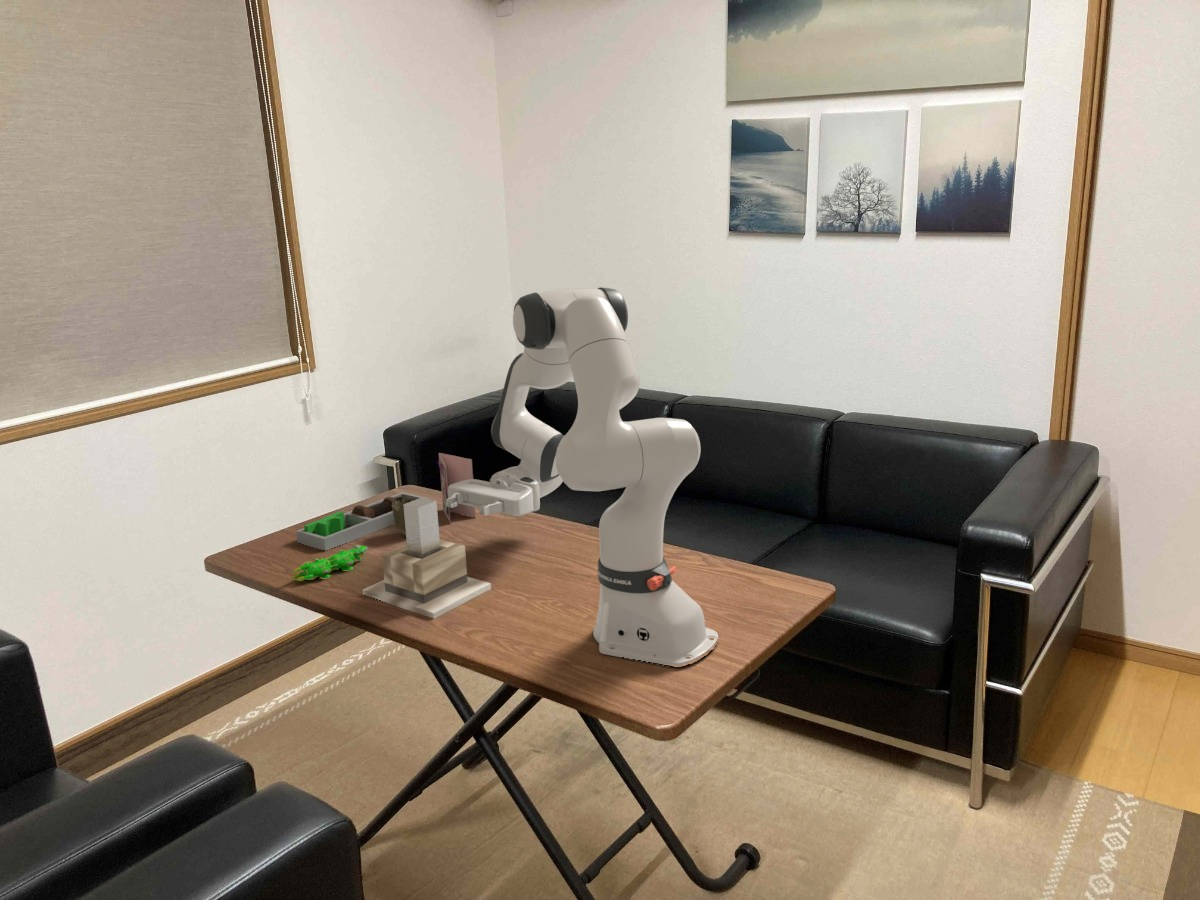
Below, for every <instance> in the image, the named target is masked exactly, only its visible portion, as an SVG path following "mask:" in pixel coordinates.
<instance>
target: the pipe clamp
mask: <svg viewBox="0 0 1200 900" xmlns="http://www.w3.org/2000/svg"><path fill="white" fill-rule="evenodd" d="M344 513H345V512H344V511H337V512H335V513H332V514H330V515H327V516H324V517H322V518H321V519H318V520H315V521H312V522H310V523H308V524H306V525H305V524H304V525H303V528H304V529H305V531H306V532H310V533H313V534H317V535H320V536H324V537H326V536H328V535H331V534H334V533H336V532H339V531H341V530H344V529H346V527H345V521H344Z"/></svg>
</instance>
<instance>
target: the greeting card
mask: <svg viewBox="0 0 1200 900" xmlns="http://www.w3.org/2000/svg"><path fill="white" fill-rule="evenodd" d="M436 462H437V464H438V467H439V473H440V486H441V499H442V500H441V501H442V509H443V513H444V514H445V516H446V519H447V518H448V519H447V520H449V521H448V523H449V522H450V523H451V513H454V512H456V513H455V514H458V513H459V514H458V515H462V514H464V515H463V516H465V515H469V516H473V517H476V507H472V506H467V505H463V504H459V503H457V506H456V507H453V508H451V507H447V506H446V499H448V498H449V497H448V487H449V485H451V484H454V483H457V482H461V481H464V480H469V479H474V474H473V459H471V458H465V457H461V456H456V455H452V454H448V453H447V454H446V453H442V452H438V460H436ZM450 511H452V512H450ZM469 516H468V517H469ZM473 517H472V518H473Z"/></svg>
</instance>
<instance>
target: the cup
mask: <svg viewBox="0 0 1200 900" xmlns="http://www.w3.org/2000/svg"><path fill="white" fill-rule="evenodd" d="M414 500H415V499H413V500H412V499H411V498H408V499H407V500H406V502H405V500H404V499H403V500H402V503H401V502H400V501H399V500H398V501H397V502H396V501H395V502H394V504H393V503H392V505H391V506H392V510H393V515H394V519H395V523H396V524H395V525H396V527H397V528H398V529H399V530H400V531H401V534H402V535H403V536H404V537H406V528H405V517H404V506H403V504H406V503H409V502H411V501H414Z"/></svg>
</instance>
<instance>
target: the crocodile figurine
mask: <svg viewBox="0 0 1200 900" xmlns="http://www.w3.org/2000/svg"><path fill="white" fill-rule="evenodd" d="M366 551H368V546H365V545H359V544H356V545H354V547H352V548H351V549H349V550H345V549H344V550H343V549H339V552H338V553H335V554H333V555H331V554H329V557H326V558H322V557H321V558H320V559H318V558H313V560H314V561H305V562H303V564H301V565H300V566H298V567H297V568H295V569H294V570H293V571H292V573H293V574H294V573H296V574H294V575H293V576H292V577H291V579H294V580H295V581H299V582H304V581H305V580H306V581H307V580H308V581H310V580H314V579H316V578H319V577H322V578H327V577H330V576H331V574H330V573H331V572H332V571H334V570H337V571H339V569H341V570H342V571H343V570H350V569H353V568H354V567H353V566H352V565H354V564H355V560H358V561H361V562H362V561H363V560H364V559H362V558H363V556H364V555H365V553H366ZM348 565H351V566H348ZM353 570H354V569H353Z"/></svg>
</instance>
